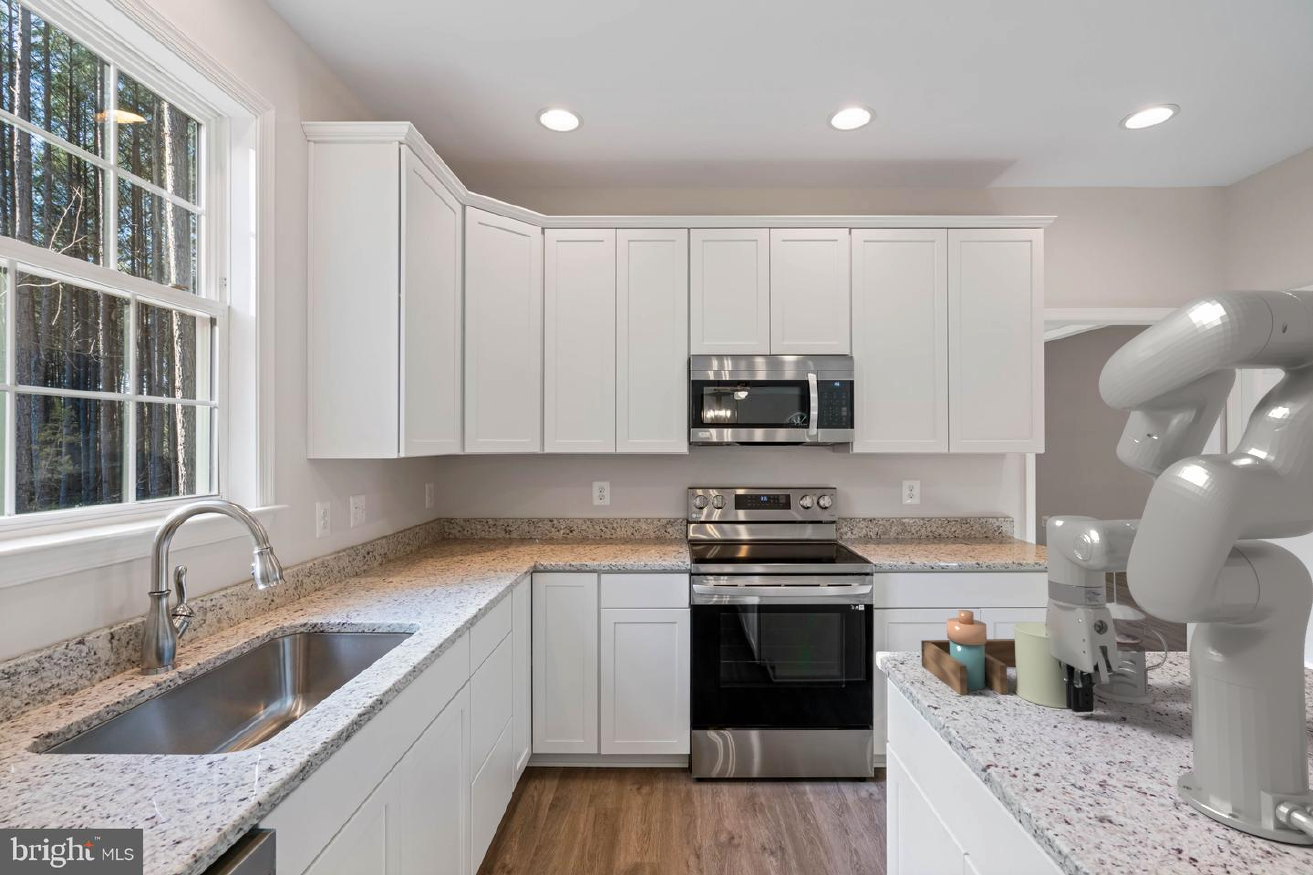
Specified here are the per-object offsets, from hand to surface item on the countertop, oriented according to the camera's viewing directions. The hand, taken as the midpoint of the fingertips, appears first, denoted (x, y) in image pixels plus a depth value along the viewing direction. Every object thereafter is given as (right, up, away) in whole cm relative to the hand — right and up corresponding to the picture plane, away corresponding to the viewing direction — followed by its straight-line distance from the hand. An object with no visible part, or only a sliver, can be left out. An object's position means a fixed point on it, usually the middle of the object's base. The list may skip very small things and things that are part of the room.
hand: (1080, 709), depth 92 cm
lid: (-11, +6, +14) cm, 19 cm away
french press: (+14, -2, +9) cm, 17 cm away
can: (0, -2, +8) cm, 8 cm away
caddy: (-4, -2, +16) cm, 17 cm away
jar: (-10, -2, +14) cm, 17 cm away
